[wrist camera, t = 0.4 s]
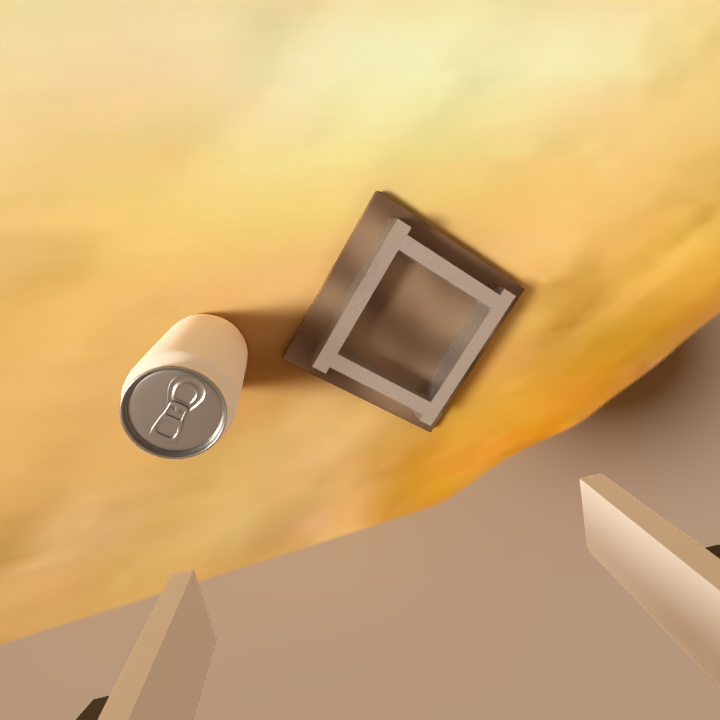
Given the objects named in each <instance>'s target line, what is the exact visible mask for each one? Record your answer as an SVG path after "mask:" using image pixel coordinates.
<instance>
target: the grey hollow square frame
mask: <svg viewBox="0 0 720 720" xmlns="http://www.w3.org/2000/svg"><path fill="white" fill-rule="evenodd" d="M410 229H411V227H410V226H409V225H407V224H405V223H404V222H402V221H401V220H399V219H397V218H390V219H389V220H388V222H387V224H386V226H385V227H384V229H383V231H382V233H381V234H380V236H379V238H378V239H377V241H376V243H375V245H374V246H373V248H372V250H371V252H370V253H369V255H368V257H367V259H366V260H365V262H364V264H363V266H362V267H361V269H360V271H359V273H358V274H357V276H356V278H355V280H354V281H353V283H352V285H351V286H350V288H349V290H348V292H347V293H346V295H345V297H344V299H343V300H342V302H341V304H340V306H339V307H338V309H337V311H336V313H335V314H334V316H333V318H332V320H331V321H330V323H329V325H328V327H327V328H326V330H325V332H324V333H323V335H322V337H321V339H320V340H319V342H318V344H317V346H316V347H315V349H314V351H313V353H312V354H311V356H310V360H311V364H312V367H313V368H315V369H317V370H319V371H321V372H323V373H325V374H326V372H327V371H328V369H329V367H330V368H332V369H334V370H336V371H338V372H340V373H342V374H344V375H346V376H348V377H350V378H352V379H354V380H356V381H358V382H360V383H362V384H364V385H366V386H368V387H370V388H372V389H374V390H376V391H378V392H380V393H382V394H384V395H386V396H388V397H390V398H392V399H394V400H396V401H398V402H400V403H402V404H404V405H405V406H407V407H409V408H411V409H412V411H413V412H414V413H415V415H416V416H417V418H418V419H419V420H420V421H422V422H424V423H426V424H428V425H430V426H431V425H432V423H433V422H434V420H435V419H436V417H437V416H438V414H439V413H440V411H441V410H442V408H443V407H444V405H445V404H446V402H447V400H448V399H449V397H450V396H451V394H452V393H453V391H454V390H455V388H456V387H457V385H458V384H459V382H460V381H461V379H462V378H463V376H464V374H465V373H466V371H467V370H468V368H469V367H470V365H471V364H472V362H473V361H474V359H475V358H476V356H477V355H478V353H479V352H480V350H481V348H482V347H483V345H484V344H485V342H486V341H487V339H488V338H489V336H490V335H491V333H492V332H493V330H494V329H495V327H496V326H497V324H498V323H499V321H500V319H501V318H502V316H503V315H504V313H505V312H506V310H507V309H508V307H509V306H510V304H511V303H512V301H513V300H514V298H515V297H516V296H515V295H513V294H512V293H510V292H509V291H507V290H506V289H504V288H501V287H498V286H495V285H491V284H490V285H489V287H487V286H485V285H484V284H482V283H480V282H479V281H477V280H476V279H474V278H473V277H471V276H470V275H468V274H467V273H465V272H464V271H462V270H460V269H459V268H457V267H456V266H454V265H453V264H451V263H450V262H448V261H447V260H445V259H444V258H442V257H440V256H439V255H437V254H436V253H434V252H433V251H431V250H430V249H428V248H427V247H425V246H423V245H422V244H420V243H419V242H417V241H416V240H414V239H413V238H411V237H410V236H408V235H407V234H408V233H409V231H410ZM397 252H398V253H400V254H402V255H403V256H405V257H406V258H408V259H410V260H411V261H413V262H414V263H416V264H418V265H419V266H421V267H422V268H424V269H425V270H427V271H429V272H430V273H432V274H433V275H435V276H437V277H438V278H440V279H441V280H443V281H445V282H446V283H448V284H449V285H451V286H452V287H454V288H456V289H457V290H459V291H460V292H462V293H464V294H465V295H467V296H468V297H470V298H472V299H473V300H475V301H476V302H478V304H477V305H476V307H475V309H474V310H473V312H472V313H471V315H470V316H469V318H468V320H467V321H466V323H465V324H464V326H463V327H462V329H461V330H460V332H459V334H458V335H457V337H456V338H455V340H454V341H453V343H452V345H451V346H450V348H449V349H448V351H447V352H446V354H445V356H444V357H443V359H442V360H441V362H440V363H439V365H438V366H437V368H436V370H435V371H434V373H433V374H432V376H431V377H430V379H429V381H428V382H427V384H426V385H425V387H424V388H423V390H422V391H420V390H418V389H416V388H414V387H412V386H411V385H409V384H407V383H405V382H403V381H401V380H399V379H397V378H395V377H393V376H391V375H390V374H388V373H386V372H384V371H382V370H380V369H378V368H376V367H374V366H372V365H370V364H369V363H367V362H365V361H363V360H361V359H359V358H357V357H355V356H353V355H351V354H350V353H348V352H346V351H344V350H342V349H340V348H341V347H342V345H343V343H344V342H345V340H346V338H347V337H348V335H349V333H350V331H351V330H352V328H353V326H354V325H355V323H356V321H357V320H358V318H359V316H360V314H361V313H362V311H363V309H364V308H365V306H366V304H367V302H368V301H369V299H370V297H371V296H372V294H373V292H374V291H375V289H376V287H377V285H378V284H379V282H380V280H381V279H382V277H383V275H384V273H385V272H386V270H387V268H388V267H389V265H390V263H391V262H392V260H393V258H394V256H395V255H396V253H397Z"/></svg>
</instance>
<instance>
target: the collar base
mask: <svg viewBox="0 0 720 720" xmlns="http://www.w3.org/2000/svg"><path fill="white" fill-rule="evenodd" d="M390 218H397V219H399V220H401V221H402V222H404V223H405V224H407V225H409V226H410V227H411V229H410V231H409V233H408V234H407V235H408V236H410V237H411V238H413V239H414V240H416V241H417V242H419V243H420V244H422V245H423V246H425V247H427V248H428V249H430V250H431V251H433V252H434V253H436V254H437V255H439V256H440V257H442V258H444V259H445V260H447V261H448V262H450V263H451V264H453V265H454V266H456V267H457V268H459V269H460V270H462V271H464V272H465V273H467V274H468V275H470V276H471V277H473V278H474V279H476V280H477V281H479V282H480V283H482V284H484V285H485V286H487V287H489V285H490V284H491V285H495V286H498V287H501V288H504V289H506V290H507V291H509V292H510V293H512V294H513V295H515V296H516V297H515V298H514V300H513V301H512V303H511V304H510V306H509V307H508V309H507V310H506V312H505V313H504V315H503V316H502V318H501V319H500V321H499V323H498V324H497V326H496V327H495V329H494V330H493V332H492V333H491V335H490V336H489V338H488V339H487V341H486V342H485V344H484V345H483V347H482V348H481V350H480V352H479V353H478V355H477V356H476V358H475V359H474V361H473V362H472V364H471V365H470V367H469V368H468V370H467V371H466V373H465V374H464V376H463V378H462V379H461V381H460V382H459V384H458V385H457V387H456V388H455V390H454V391H453V393H452V394H451V396H450V397H449V399H448V400H447V402H446V404H445V405H444V407H443V408H442V410H441V411H440V413H439V414H438V416H437V417H436V419H435V420H434V422H433V423H432V425H431V426H430V425H428V424H426V423H424V422H422V421H420V420H419V419H418V418H417V416H416V415H415V413H414V412H413V411H412V409H411V408H409V407H407V406H405V405H404V404H402V403H400V402H398V401H396V400H394V399H392V398H390V397H388V396H386V395H384V394H382V393H380V392H378V391H376V390H374V389H372V388H370V387H368V386H366V385H364V384H362V383H360V382H358V381H356V380H354V379H352V378H350V377H348V376H346V375H344V374H342V373H340V372H338V371H336V370H334V369H332V368H330V367H329V369H328V371H327V372H326V374H325V373H323V372H321V371H319V370H317V369H315V368H313V367H312V364H311V360H310V356H311V354H312V353H313V351H314V349H315V347H316V346H317V344H318V342H319V340H320V339H321V337H322V335H323V333H324V332H325V330H326V328H327V327H328V325H329V323H330V321H331V320H332V318H333V316H334V314H335V313H336V311H337V309H338V307H339V306H340V304H341V302H342V300H343V299H344V297H345V295H346V293H347V292H348V290H349V288H350V286H351V285H352V283H353V281H354V280H355V278H356V276H357V274H358V273H359V271H360V269H361V267H362V266H363V264H364V262H365V260H366V259H367V257H368V255H369V253H370V252H371V250H372V248H373V246H374V245H375V243H376V241H377V239H378V238H379V236H380V234H381V233H382V231H383V229H384V227H385V226H386V224H387V222H388V220H389V219H390ZM523 291H524V288H522V287H521V286H519V285H518V284H516V283H515V282H513V281H512V280H510V279H509V278H507V277H506V276H504V275H503V274H501V273H500V272H498V271H497V270H495V269H494V268H492V267H491V266H489V265H488V264H486V263H485V262H483V261H482V260H480V259H479V258H477V257H476V256H474V255H473V254H471V253H470V252H468V251H467V250H465V249H464V248H462V247H461V246H459V245H458V244H456V243H455V242H453V241H452V240H450V239H449V238H447V237H446V236H444V235H443V234H441V233H440V232H439V231H437V230H436V229H434V228H433V227H431V226H430V225H428V224H427V223H425V222H424V221H422V220H421V219H419V218H418V217H416V216H415V215H413V214H412V213H410V212H409V211H407V210H406V209H404V208H403V207H401V206H400V205H398V204H397V203H395V202H394V201H392V200H391V199H389V198H388V197H386V196H385V195H383V194H382V193H380V192H379V191H376V192H375V193H374V195H373V197H372V199H371V200H370V202H369V204H368V206H367V208H366V209H365V211H364V213H363V215H362V216H361V218H360V220H359V222H358V224H357V225H356V227H355V229H354V231H353V232H352V234H351V236H350V238H349V240H348V241H347V243H346V245H345V247H344V249H343V250H342V252H341V254H340V256H339V257H338V259H337V261H336V263H335V265H334V266H333V268H332V270H331V272H330V273H329V275H328V277H327V279H326V281H325V282H324V284H323V286H322V288H321V289H320V291H319V293H318V295H317V297H316V298H315V300H314V302H313V304H312V306H311V307H310V309H309V311H308V313H307V314H306V316H305V318H304V320H303V322H302V323H301V325H300V327H299V329H298V330H297V332H296V334H295V336H294V338H293V339H292V341H291V343H290V345H289V346H288V348H287V350H286V352H285V354H284V355H283V360H285V361H287V362H289V363H291V364H293V365H295V366H297V367H299V368H301V369H303V370H305V371H307V372H309V373H311V374H313V375H315V376H317V377H319V378H321V379H323V380H325V381H327V382H329V383H331V384H333V385H335V386H337V387H339V388H341V389H344V390H346V391H348V392H350V393H352V394H354V395H356V396H358V397H360V398H362V399H364V400H366V401H368V402H370V403H372V404H374V405H376V406H378V407H380V408H382V409H384V410H386V411H388V412H390V413H392V414H394V415H396V416H398V417H400V418H402V419H404V420H406V421H408V422H410V423H412V424H414V425H416V426H419V427H421V428H423V429H425V430H427V431H429V432H431V431H432V429H433V428H434V426H435V425H436V423H437V422H438V420H439V419H440V417H441V416H442V414H443V413H444V411H445V410H446V408H447V407H448V405H449V404H450V402H451V401H452V399H453V397H454V396H455V394H456V393H457V391H458V390H459V388H460V387H461V385H462V384H463V382H464V381H465V379H466V378H467V376H468V375H469V373H470V372H471V370H472V369H473V367H474V365H475V364H476V362H477V361H478V359H479V358H480V356H481V355H482V353H483V352H484V350H485V349H486V347H487V346H488V344H489V343H490V341H491V340H492V338H493V337H494V335H495V334H496V332H497V330H498V329H499V327H500V326H501V324H502V323H503V321H504V320H505V318H506V317H507V315H508V314H509V312H510V311H511V309H512V308H513V306H514V305H515V303H516V302H517V300H518V298H519V297H520V295H521V294H522V292H523ZM477 304H478V302H476V301H475V300H473V299H472V298H470V297H468V296H467V295H465V294H464V293H462V292H460V291H459V290H457V289H456V288H454V287H452V286H451V285H449V284H448V283H446V282H445V281H443V280H441V279H440V278H438V277H437V276H435V275H433V274H432V273H430V272H429V271H427V270H425V269H424V268H422V267H421V266H419V265H418V264H416V263H414V262H413V261H411V260H410V259H408V258H406V257H405V256H403V255H402V254H400V253H398V252H397V253H396V255H395V256H394V258H393V260H392V262H391V263H390V265H389V267H388V268H387V270H386V272H385V273H384V275H383V277H382V279H381V280H380V282H379V284H378V285H377V287H376V289H375V291H374V292H373V294H372V296H371V297H370V299H369V301H368V302H367V304H366V306H365V308H364V309H363V311H362V313H361V314H360V316H359V318H358V320H357V321H356V323H355V325H354V326H353V328H352V330H351V331H350V333H349V335H348V337H347V338H346V340H345V342H344V343H343V345H342V347H341V348H340V349H342V350H344V351H346V352H348V353H350V354H351V355H353V356H355V357H357V358H359V359H361V360H363V361H365V362H367V363H369V364H370V365H372V366H374V367H376V368H378V369H380V370H382V371H384V372H386V373H388V374H390V375H391V376H393V377H395V378H397V379H399V380H401V381H403V382H405V383H407V384H409V385H411V386H412V387H414V388H416V389H418V390H420V391H422V390H423V388H424V387H425V385H426V384H427V382H428V381H429V379H430V377H431V376H432V374H433V373H434V371H435V370H436V368H437V366H438V365H439V363H440V362H441V360H442V359H443V357H444V356H445V354H446V352H447V351H448V349H449V348H450V346H451V345H452V343H453V341H454V340H455V338H456V337H457V335H458V334H459V332H460V330H461V329H462V327H463V326H464V324H465V323H466V321H467V320H468V318H469V316H470V315H471V313H472V312H473V310H474V309H475V307H476V305H477Z"/></svg>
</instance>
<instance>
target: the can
mask: <svg viewBox="0 0 720 720" xmlns="http://www.w3.org/2000/svg"><path fill="white" fill-rule="evenodd" d="M247 358H248V351H247V345H246V342H245V340H244V338H243V336H242V334H241V333H240V331H239V330H238V329H237V328H236V326H235V325H233V324H232V323H231V322H229V321H227V320H226V319H223V318H221V317H218V316H214V315H210V314H196V315H192V316H189V317H186V318H184V319H182V320H180V321H179V322H177V323H176V324H175V325H174V326H173V327H172V328H171V329H170V330H169V331H168V332H167V333H166V334H165V335H164V336H163V337H162V338H161V339H160V340H159V341H158V342H157V343H156V344H155V345H154V346H153V347H152V348H151V349H150V350H149V351H148V352H147V353H146V355H145V356H144V357H143V358H142V359H141V360H140V361H139V362H138V363H137V364H136V365H135V367H134V368H133V369H132V370H131V372H130V373H129V375H128V376H127V378H126V380H125V382H124V385H123V388H122V393H121V401H120V409H119V412H120V420H121V423H122V426H123V428H124V430H125V432H126V434H127V435H128V437H129V438H130V439H131V440H132V441H133V442H134V443H135V444H136V445H137V446H138V447H140V448H141V449H143V450H144V451H146V452H148V453H150V454H152V455H155V456H158V457H162V458H168V459H183V458H189V457H193V456H196V455H198V454H201V453H203V452H204V451H206V450H208V449H209V448H210V447H212V446H213V445H214V444H215V443H216V442H217V441H218V439H220V438H221V437H222V436H223V435H224V434H225V433H226V432H227V430H228V429H229V427H230V426H231V424H232V422H233V420H234V417H235V414H236V411H237V407H238V403H239V398H240V394H241V389H242V385H243V380H244V375H245V370H246V365H247Z"/></svg>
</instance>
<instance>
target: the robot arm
mask: <svg viewBox="0 0 720 720" xmlns="http://www.w3.org/2000/svg"><path fill="white" fill-rule="evenodd" d="M580 487H581V496H582V505H583V513H584V523H585V532H586V541H587V549H588V550H589V552H590V553H591V554H592V555H593V556H594V557H595V558H596V559H597V560H598V561H599V562H600V563H601V564H602V565H603V566H604V567H605V568H606V569H607V570H608V571H609V572H610V574H611V575H612V576H613V577H614V578H615V579H616V580H617V581H618V582H619V583H620V584H621V585H622V586H623V587H624V588H625V589H626V590H627V591H628V592H629V593H630V594H631V595H632V596H633V598H634V599H635V600H637V602H638V603H639V604H640V605H641V606H642V607H643V608H644V609H645V610H646V611H647V612H648V613H649V614H650V615H651V616H652V617H653V619H655V621H656V622H657V623H658V624H659V625H660V626H661V627H662V628H663V629H664V630H665V631H666V632H667V633H668V634H669V635H670V636H671V637H672V638H673V639H674V640H675V641H676V643H677V644H679V646H680V647H681V648H682V649H683V650H684V651H685V652H686V653H687V654H688V655H689V656H690V657H691V658H692V659H693V660H694V662H696V663H697V665H698V666H699V667H700V668H701V669H702V670H703V671H704V672H705V673H706V674H707V675H708V676H709V677H710V678H711V679H712V680H713V681H714V682H715V683H716V685H717V686H719V688H720V545H715V546H711V547H707V548H704V547H703V546H701V545H700V544H699V543H697V542H696V541H694V540H693V539H692V538H690V537H689V536H688V535H686V534H685V533H683V532H682V531H680V530H679V529H678V528H676V527H675V526H674V525H672V524H671V523H669V522H668V521H667V520H665V519H664V518H663V517H661V516H660V515H658V514H657V513H655V512H654V511H653V510H651V509H650V508H649V507H647V506H646V505H644V504H643V503H642V502H640V501H639V500H638V499H636V498H635V497H633V496H632V495H631V494H629V493H628V492H627V491H625V490H624V489H622V488H621V487H620V486H618V485H617V484H615V483H614V482H613V481H611V480H609V478H607V477H606V476H604V475H603V474H601V473H600V474H596V475H592V476H588V477H583V478H580ZM216 640H217V639H216V636H215V633H214V630H213V627H212V624H211V621H210V618H209V614H208V612H207V608H206V605H205V602H204V599H203V596H202V593H201V590H200V587H199V584H198V581H197V578H196V575H195V572H194V570H190V571H186V572H182V573H177V574H173V575H170V577H169V579H168V581H167V583H166V585H165V587H164V589H163V591H162V593H161V595H160V597H159V599H158V601H157V603H156V605H155V607H154V609H153V611H152V613H151V615H150V617H149V619H148V621H147V623H146V625H145V627H144V629H143V631H142V633H141V635H140V636H139V639H138V640H137V642H136V644H135V646H134V648H133V650H132V653H131V654H130V656H129V658H128V660H127V662H126V664H125V666H124V668H123V670H122V672H121V674H120V676H119V678H118V680H117V682H116V684H115V686H114V688H113V690H112V692H111V694H110V696H106V697H102V698H98V699H94V700H93V701H92V702H91V703H90V704H89V705H88V707H87V708H86V709H85V710H84V711H83V712H82V713H81V714H80V716H79V717H78V718H77V719H76V720H194V716H195V713H196V709H197V706H198V702H199V699H200V695H201V692H202V689H203V685H204V682H205V678H206V675H207V671H208V668H209V665H210V661H211V658H212V654H213V651H214V647H215V644H216Z"/></svg>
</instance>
